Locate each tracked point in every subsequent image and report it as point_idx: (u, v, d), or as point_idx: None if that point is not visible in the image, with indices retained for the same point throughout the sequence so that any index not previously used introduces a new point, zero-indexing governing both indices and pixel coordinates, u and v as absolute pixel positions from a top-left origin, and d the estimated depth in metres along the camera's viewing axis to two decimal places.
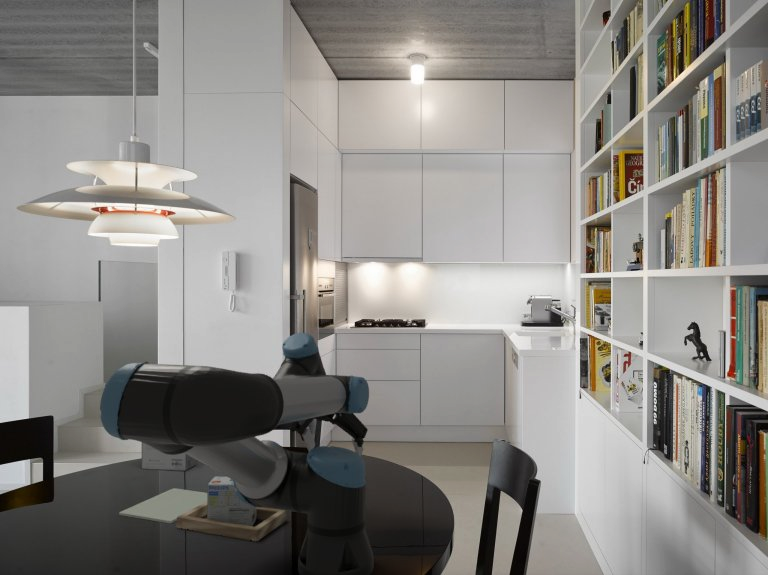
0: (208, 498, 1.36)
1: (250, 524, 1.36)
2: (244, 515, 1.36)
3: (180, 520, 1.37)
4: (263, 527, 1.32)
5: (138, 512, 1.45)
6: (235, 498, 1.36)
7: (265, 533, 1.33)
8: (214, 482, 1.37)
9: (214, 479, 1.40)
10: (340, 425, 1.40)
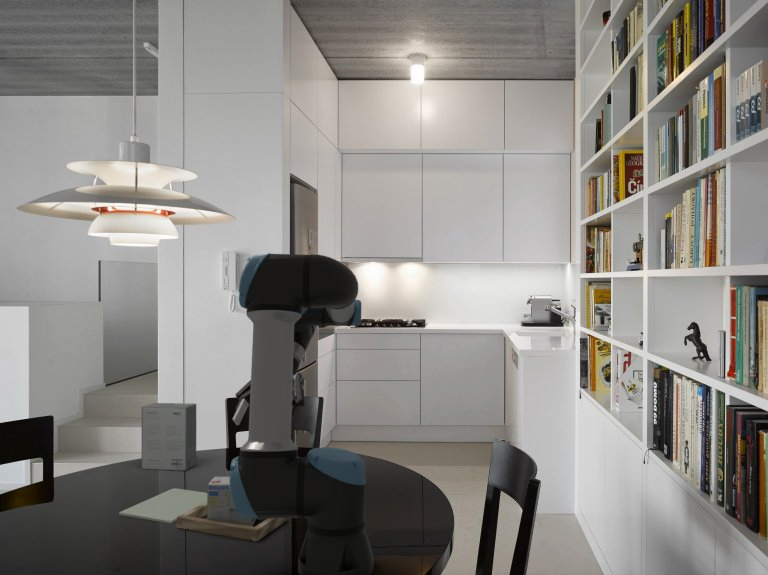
0: (208, 498, 1.36)
1: (250, 524, 1.36)
2: None
3: (180, 520, 1.37)
4: (263, 527, 1.32)
5: (138, 512, 1.45)
6: None
7: (265, 533, 1.33)
8: (214, 482, 1.37)
9: (214, 479, 1.40)
10: None
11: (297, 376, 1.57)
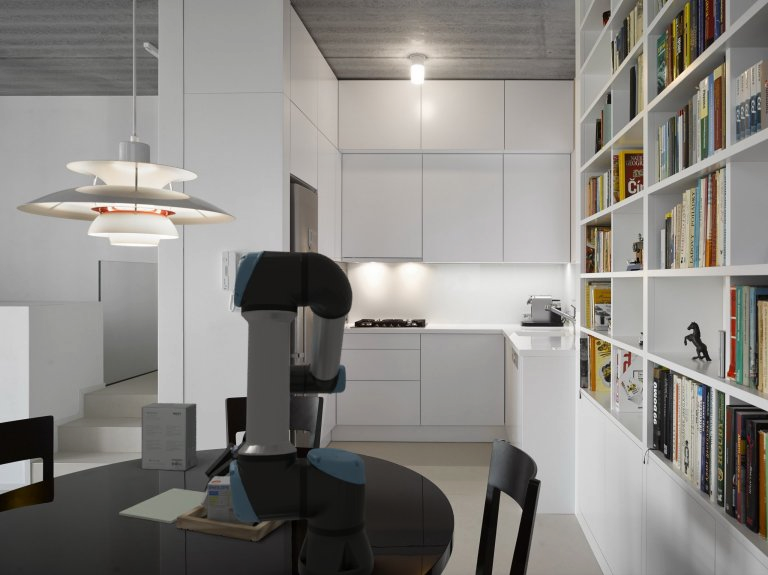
0: (208, 498, 1.36)
1: (250, 524, 1.36)
2: None
3: (180, 520, 1.37)
4: (263, 527, 1.32)
5: (138, 512, 1.45)
6: None
7: (265, 533, 1.33)
8: (214, 482, 1.37)
9: (214, 479, 1.40)
10: None
11: None
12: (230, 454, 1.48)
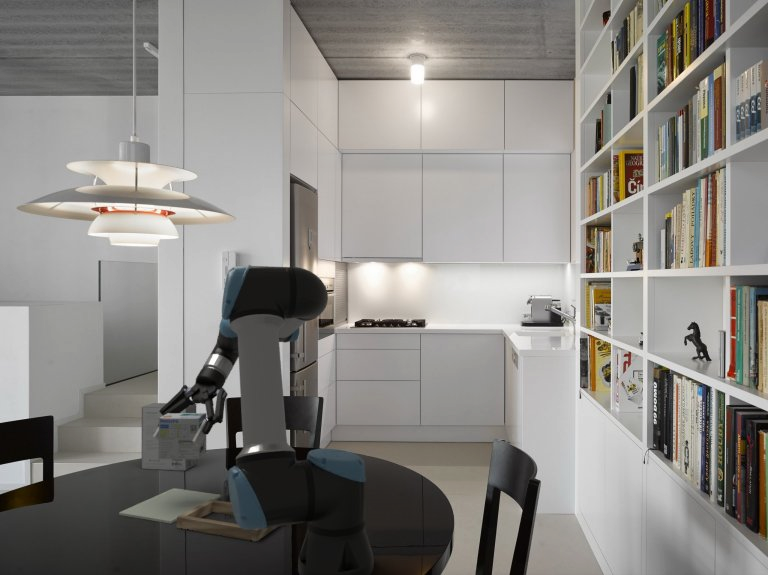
0: (159, 430, 1.48)
1: (198, 455, 1.48)
2: (192, 446, 1.48)
3: (180, 520, 1.37)
4: None
5: (138, 512, 1.45)
6: (184, 431, 1.48)
7: (265, 533, 1.33)
8: (165, 416, 1.49)
9: (166, 415, 1.52)
10: (208, 403, 1.54)
11: (220, 391, 1.56)
12: (184, 395, 1.60)
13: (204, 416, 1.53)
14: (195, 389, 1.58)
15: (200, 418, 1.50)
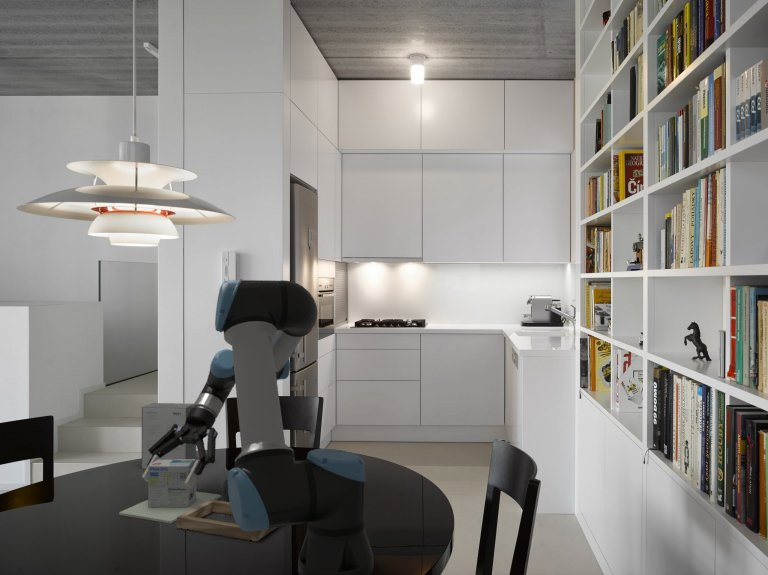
0: (149, 478, 1.48)
1: (187, 502, 1.49)
2: (182, 494, 1.49)
3: (180, 520, 1.37)
4: None
5: (138, 512, 1.45)
6: (174, 479, 1.48)
7: (265, 533, 1.33)
8: (155, 464, 1.50)
9: (156, 461, 1.52)
10: (199, 443, 1.55)
11: (210, 431, 1.57)
12: (174, 434, 1.61)
13: (194, 462, 1.53)
14: (185, 429, 1.58)
15: (190, 465, 1.50)
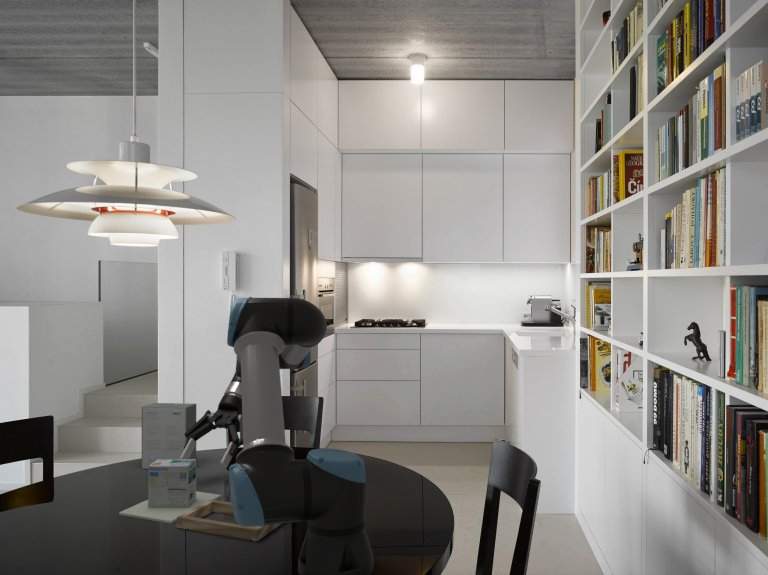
0: (149, 478, 1.48)
1: (187, 502, 1.49)
2: (182, 494, 1.49)
3: (180, 520, 1.37)
4: (263, 527, 1.32)
5: (138, 512, 1.45)
6: (174, 479, 1.48)
7: (265, 533, 1.33)
8: (155, 464, 1.50)
9: (156, 461, 1.52)
10: (232, 427, 1.67)
11: (242, 416, 1.69)
12: (207, 419, 1.73)
13: (194, 462, 1.53)
14: (218, 415, 1.71)
15: (190, 465, 1.50)
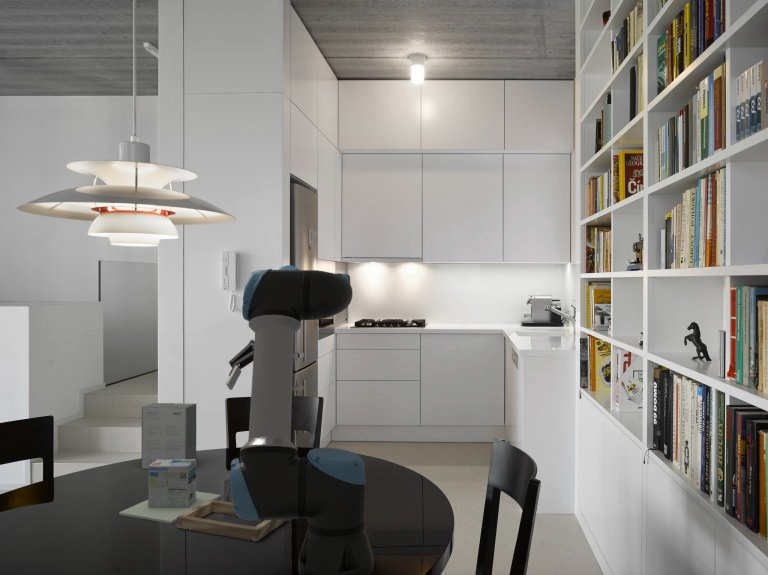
0: (149, 478, 1.48)
1: (187, 502, 1.49)
2: (182, 494, 1.49)
3: (180, 520, 1.37)
4: (263, 527, 1.32)
5: (138, 512, 1.45)
6: (174, 479, 1.48)
7: (265, 533, 1.33)
8: (155, 464, 1.50)
9: (156, 461, 1.52)
10: None
11: None
12: (251, 349, 1.70)
13: (194, 462, 1.53)
14: None
15: (190, 465, 1.50)
